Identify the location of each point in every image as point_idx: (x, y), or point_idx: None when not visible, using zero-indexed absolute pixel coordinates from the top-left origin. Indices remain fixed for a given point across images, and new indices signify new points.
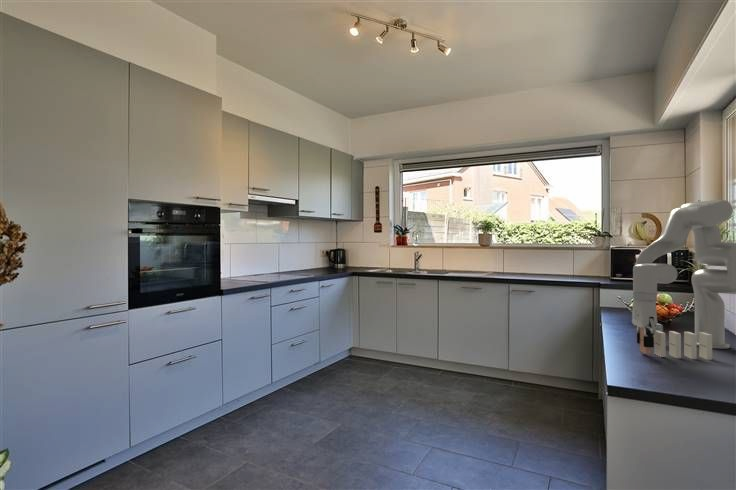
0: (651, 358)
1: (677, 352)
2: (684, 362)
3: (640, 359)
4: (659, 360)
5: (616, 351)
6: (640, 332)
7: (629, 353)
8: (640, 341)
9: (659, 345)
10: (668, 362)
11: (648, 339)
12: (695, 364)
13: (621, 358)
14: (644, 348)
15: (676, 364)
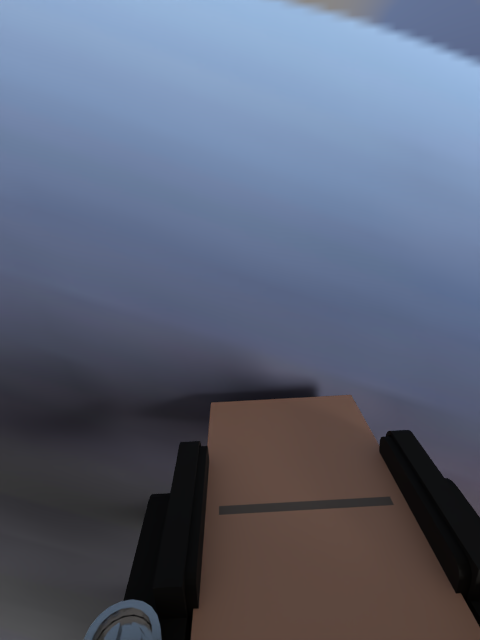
0: (155, 413)
1: None
2: (104, 582)
3: (69, 300)
4: (99, 450)
5: (407, 152)
6: (447, 632)
7: (325, 278)
8: (373, 477)
9: None
10: (52, 490)
11: (135, 580)
12: (70, 618)
13: (26, 84)
14: (241, 436)
15: (6, 519)
